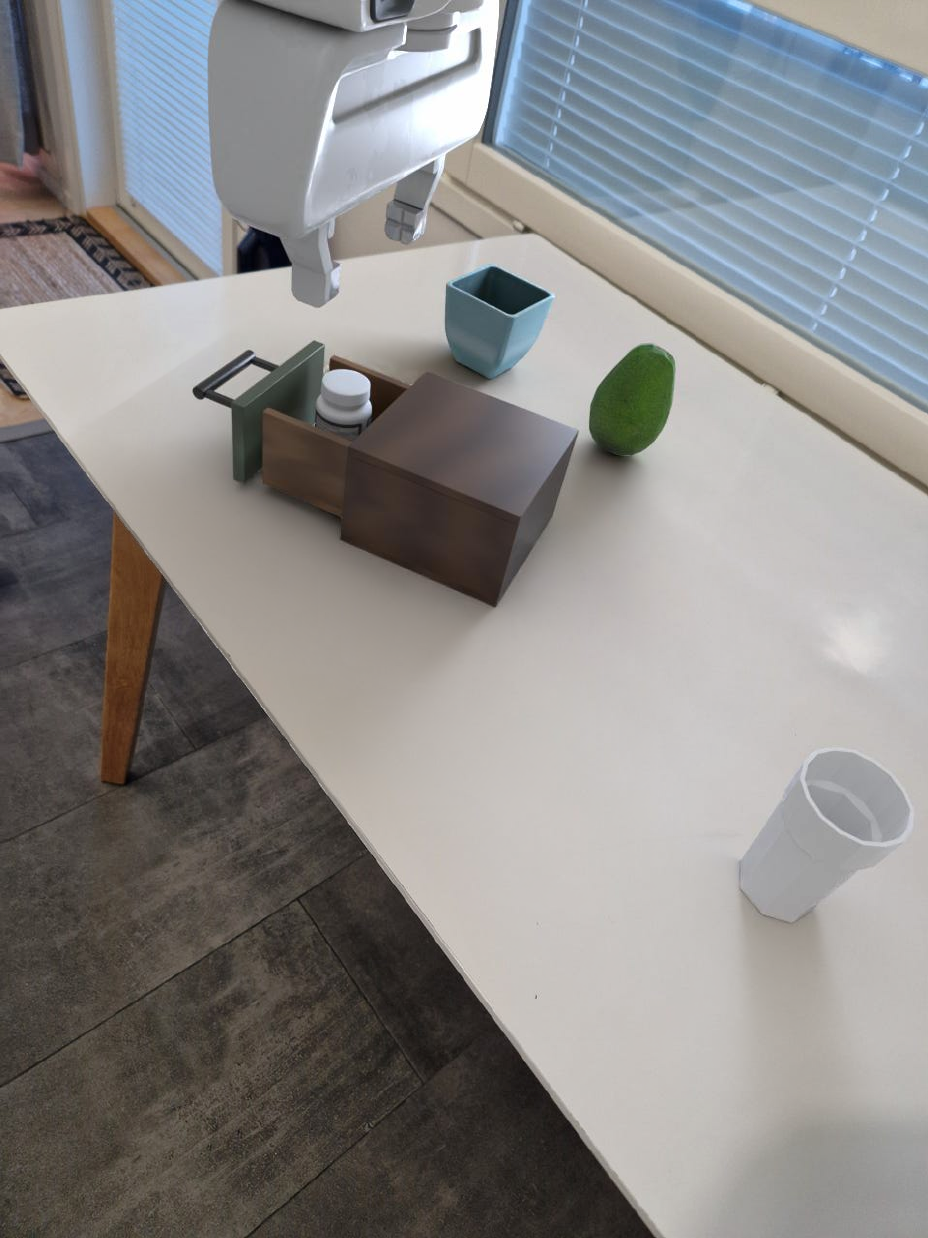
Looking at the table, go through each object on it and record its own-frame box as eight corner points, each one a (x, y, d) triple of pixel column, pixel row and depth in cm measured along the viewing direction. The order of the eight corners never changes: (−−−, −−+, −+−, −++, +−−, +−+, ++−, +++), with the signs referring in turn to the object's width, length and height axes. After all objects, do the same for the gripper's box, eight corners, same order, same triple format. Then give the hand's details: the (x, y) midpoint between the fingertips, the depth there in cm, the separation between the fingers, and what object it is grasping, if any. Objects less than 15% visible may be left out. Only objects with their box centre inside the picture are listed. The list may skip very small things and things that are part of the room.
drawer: (178, 456, 76) (171, 377, 71) (260, 392, 85) (260, 318, 79) (370, 539, 73) (379, 463, 67) (435, 464, 82) (447, 392, 76)
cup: (799, 837, 60) (879, 745, 52) (841, 929, 56) (936, 843, 48) (712, 842, 59) (782, 748, 51) (749, 937, 54) (832, 850, 46)
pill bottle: (337, 441, 80) (343, 359, 74) (376, 464, 78) (386, 383, 72) (301, 461, 77) (305, 378, 71) (342, 486, 75) (349, 403, 69)
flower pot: (538, 368, 99) (557, 293, 93) (495, 394, 94) (512, 317, 87) (476, 336, 102) (491, 261, 96) (431, 360, 96) (443, 282, 90)
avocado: (650, 479, 88) (693, 374, 79) (575, 459, 88) (609, 352, 79) (654, 437, 93) (693, 334, 85) (583, 418, 93) (616, 314, 85)
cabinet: (339, 539, 73) (347, 445, 67) (412, 459, 83) (426, 370, 76) (495, 607, 71) (520, 517, 64) (552, 516, 81) (579, 429, 74)
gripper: (431, -100, 43) (399, 191, 52) (166, -73, 29) (190, 318, 38) (549, -66, 41) (493, 225, 51) (334, -22, 27) (314, 367, 37)
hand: (362, 266), depth 45 cm, fingers open, 8 cm apart
